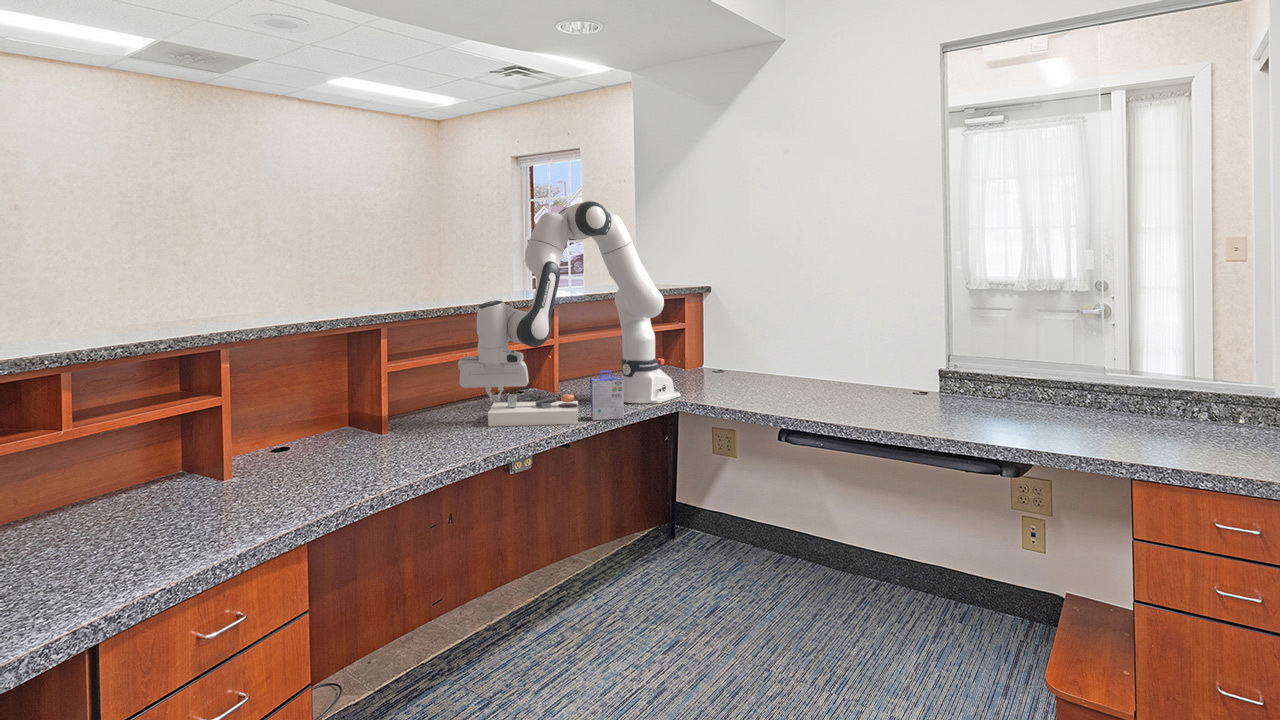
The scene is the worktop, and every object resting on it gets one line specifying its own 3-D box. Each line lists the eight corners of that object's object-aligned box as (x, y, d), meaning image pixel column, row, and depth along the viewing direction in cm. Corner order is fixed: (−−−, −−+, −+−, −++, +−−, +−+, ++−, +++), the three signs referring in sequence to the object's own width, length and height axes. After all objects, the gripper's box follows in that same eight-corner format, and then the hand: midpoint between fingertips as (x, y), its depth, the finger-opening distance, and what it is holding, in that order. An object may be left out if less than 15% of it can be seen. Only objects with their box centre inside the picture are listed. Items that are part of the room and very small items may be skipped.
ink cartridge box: (621, 414, 224) (621, 368, 221) (625, 419, 218) (624, 371, 216) (589, 416, 222) (589, 370, 219) (592, 420, 216) (591, 373, 214)
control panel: (578, 413, 226) (577, 396, 225) (577, 424, 212) (577, 405, 212) (494, 415, 224) (493, 397, 223) (488, 426, 211) (487, 407, 210)
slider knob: (517, 404, 219) (516, 393, 219) (516, 407, 215) (515, 395, 215) (509, 404, 219) (508, 393, 218) (508, 407, 215) (507, 396, 215)
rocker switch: (556, 399, 220) (555, 396, 220) (555, 402, 216) (555, 398, 216) (537, 404, 219) (536, 400, 219) (536, 406, 216) (535, 403, 216)
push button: (574, 399, 220) (574, 394, 220) (574, 401, 216) (574, 396, 216) (561, 399, 220) (561, 394, 220) (560, 402, 216) (560, 397, 216)
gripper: (455, 358, 211) (458, 404, 213) (526, 356, 212) (528, 402, 214) (459, 355, 217) (461, 400, 219) (528, 353, 218) (529, 398, 220)
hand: (495, 401), depth 217 cm, fingers closed
